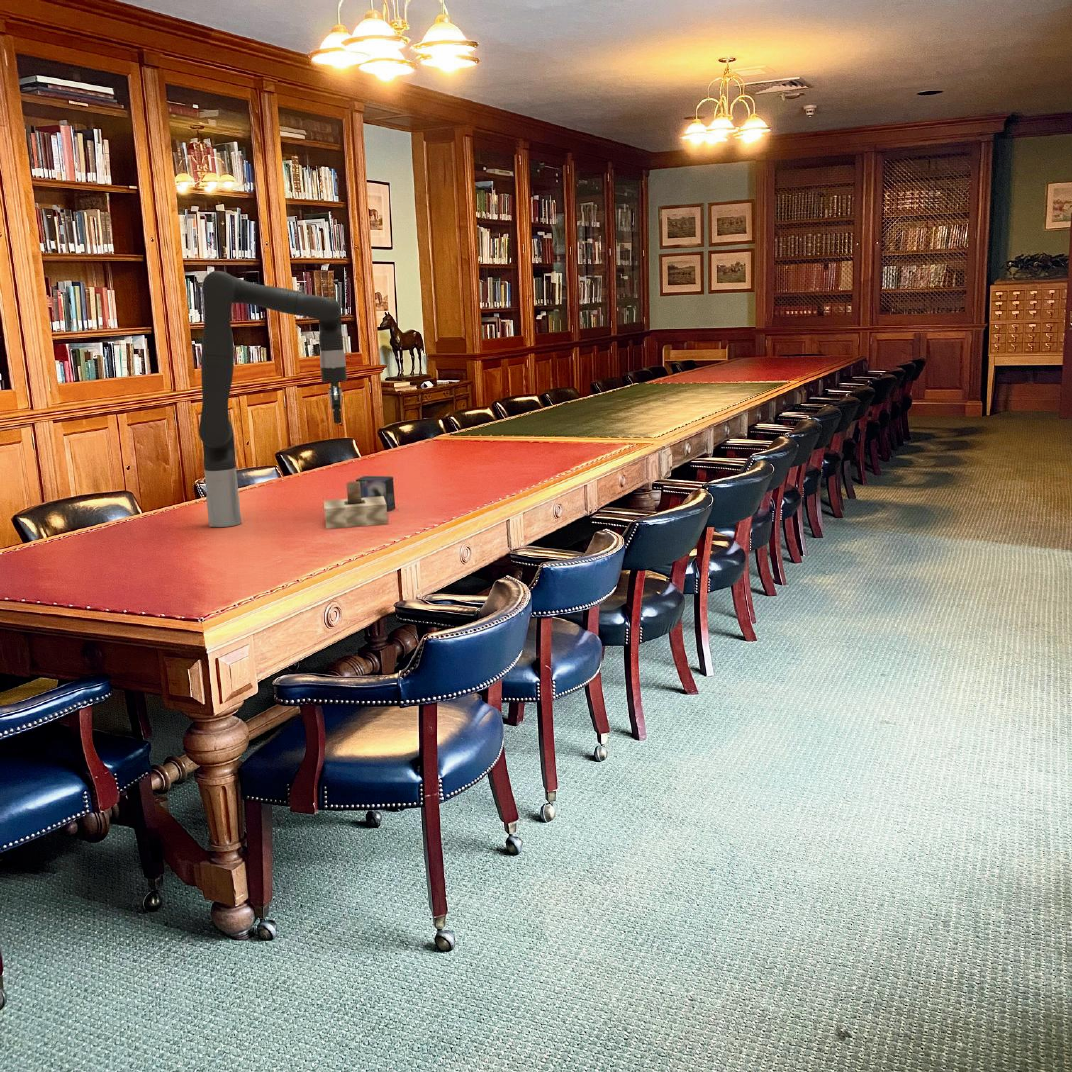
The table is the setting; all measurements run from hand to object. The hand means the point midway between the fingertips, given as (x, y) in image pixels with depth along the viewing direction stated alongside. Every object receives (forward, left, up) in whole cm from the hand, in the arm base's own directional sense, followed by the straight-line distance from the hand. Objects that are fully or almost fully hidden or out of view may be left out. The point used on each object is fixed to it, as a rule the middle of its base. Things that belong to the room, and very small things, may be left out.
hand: (337, 423), depth 322 cm
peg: (+3, -10, -29) cm, 31 cm away
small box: (+10, +7, -29) cm, 32 cm away
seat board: (+3, -10, -29) cm, 31 cm away
